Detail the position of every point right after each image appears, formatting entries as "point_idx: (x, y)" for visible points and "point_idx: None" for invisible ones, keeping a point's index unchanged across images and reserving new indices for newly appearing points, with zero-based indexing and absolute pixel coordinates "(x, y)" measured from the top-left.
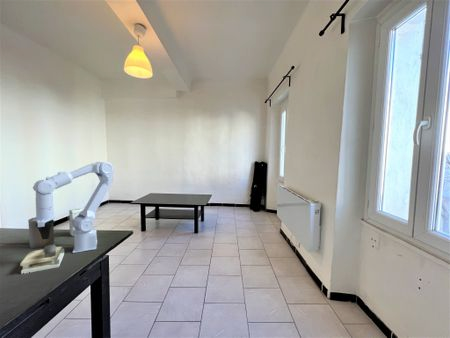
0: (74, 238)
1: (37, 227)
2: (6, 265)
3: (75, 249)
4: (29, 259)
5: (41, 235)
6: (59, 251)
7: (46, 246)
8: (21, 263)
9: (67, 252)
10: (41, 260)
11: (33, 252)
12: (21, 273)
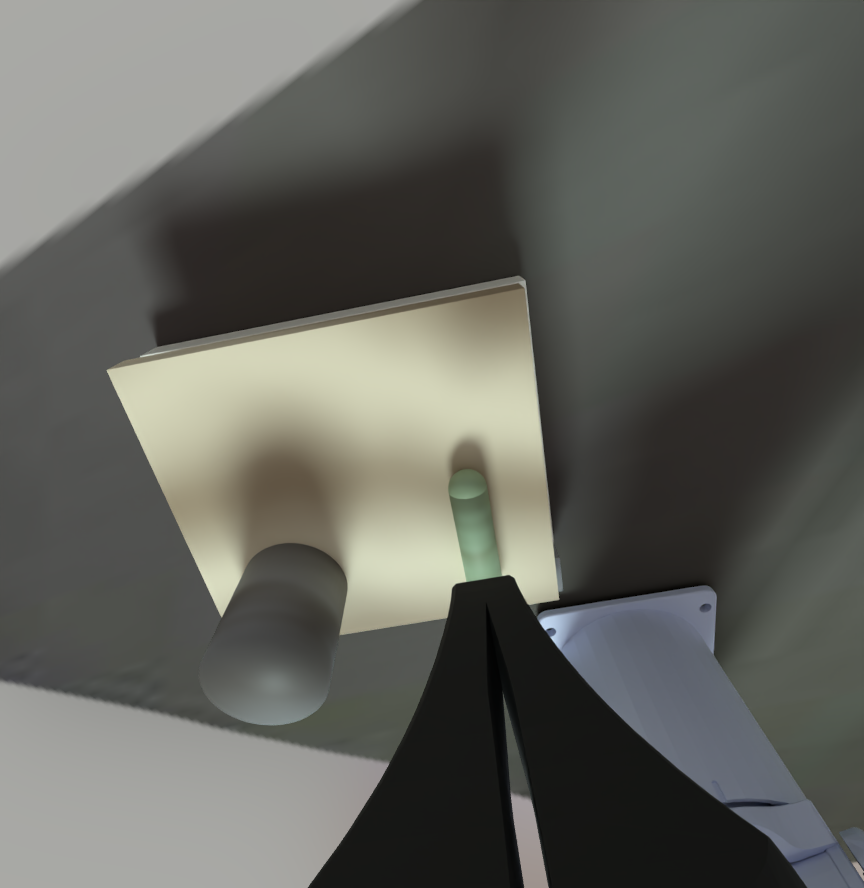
0: (646, 731)
1: (321, 882)
2: (438, 11)
3: (587, 632)
4: (223, 416)
5: (440, 645)
6: (410, 620)
7: (259, 650)
8: (112, 379)
9: (588, 559)
10: (192, 543)
11: (464, 357)
12: (156, 349)
